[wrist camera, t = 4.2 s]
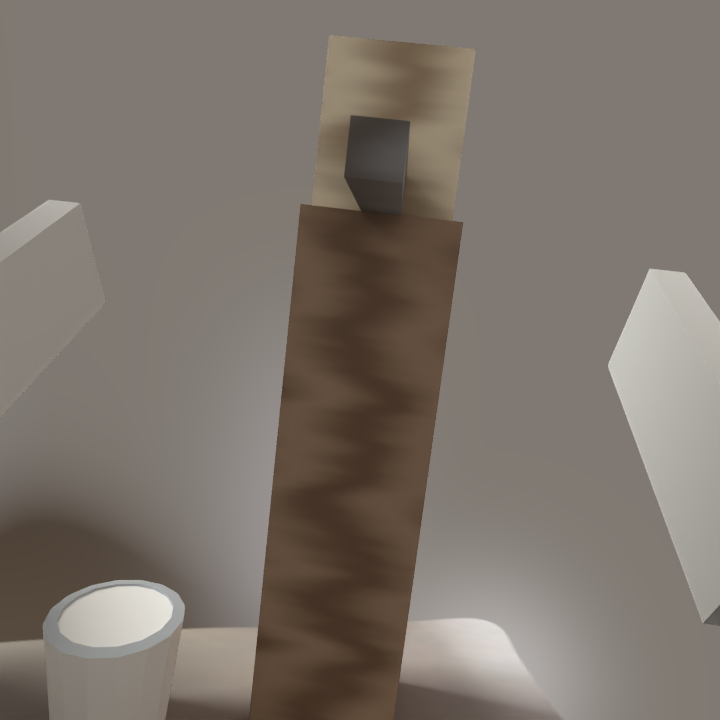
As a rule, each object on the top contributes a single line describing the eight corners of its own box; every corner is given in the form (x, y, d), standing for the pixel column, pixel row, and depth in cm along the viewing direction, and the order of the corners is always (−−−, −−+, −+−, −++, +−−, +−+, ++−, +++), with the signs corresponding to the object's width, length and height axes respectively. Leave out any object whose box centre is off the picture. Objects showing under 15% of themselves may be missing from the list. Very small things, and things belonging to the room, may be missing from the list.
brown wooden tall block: (248, 729, 31) (300, 203, 27) (271, 661, 37) (317, 218, 33) (388, 752, 31) (463, 222, 27) (390, 680, 37) (451, 233, 33)
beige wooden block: (271, 168, 19) (295, -88, 18) (325, 219, 33) (340, 77, 32) (477, 191, 19) (514, -70, 18) (443, 232, 33) (462, 89, 32)
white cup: (152, 793, 27) (162, 662, 26) (7, 782, 27) (12, 649, 26) (191, 690, 34) (200, 583, 33) (76, 680, 34) (82, 572, 33)
